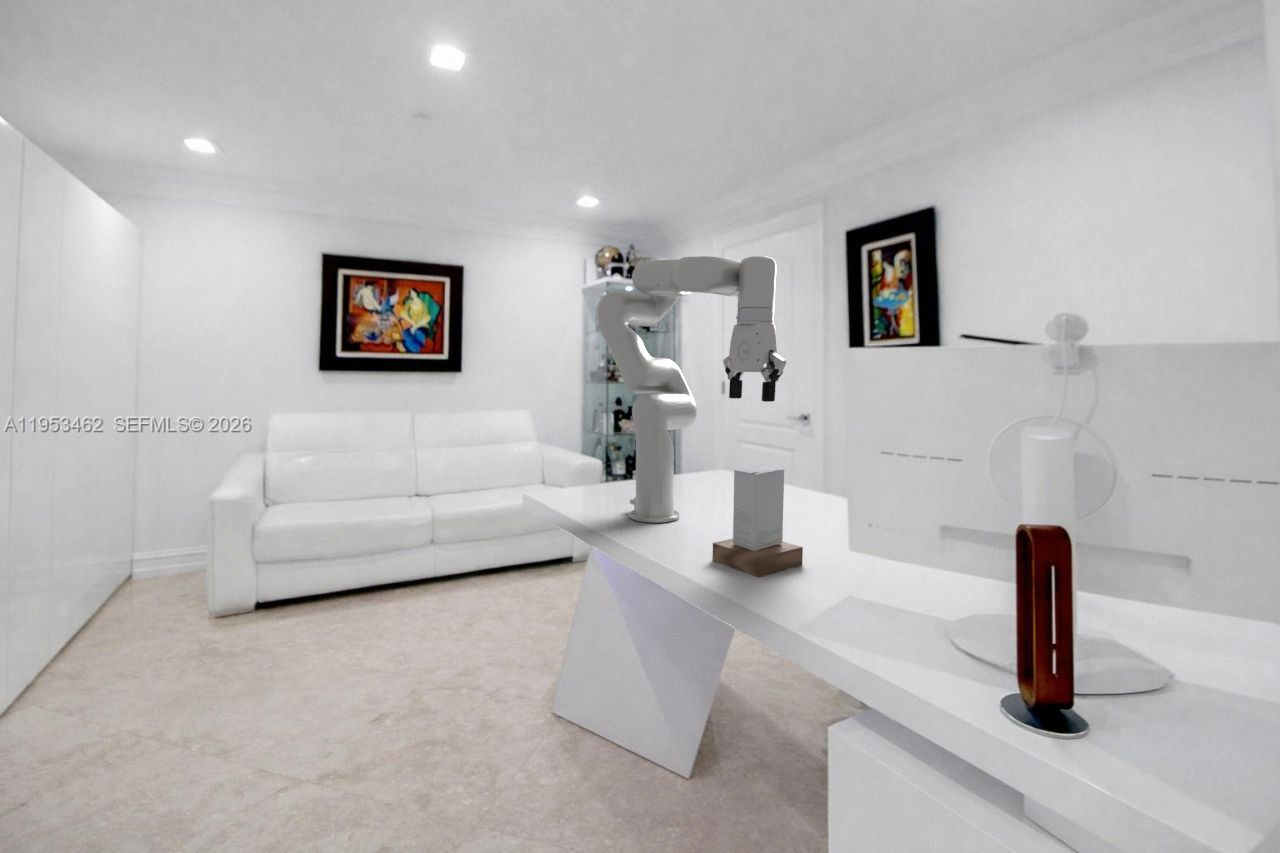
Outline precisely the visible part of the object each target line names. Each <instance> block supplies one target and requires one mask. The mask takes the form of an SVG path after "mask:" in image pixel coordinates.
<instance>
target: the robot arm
mask: <svg viewBox="0 0 1280 853" xmlns="http://www.w3.org/2000/svg"><path fill="white" fill-rule="evenodd" d="M776 277H777V262H776V261H775V259H774V258H772V257H769V256H764V255H762V256H761V255H756V256H747V257H745V258H743V259H741V261H736V260H731V259H726V258H722V257H717V256H711V255H710V256H699V255H698V256H683V257H682V258H679V259H678V258H677V259H651V260H645V261H642V262H640V263H638V264H637V265H636V266H635V268H634V269H633V270H632V273H631V280H632V284H633V286H634V288H635V289H636V290H637V291H638V292H633V291H625V290H624V291H623V290H619V291H618V290H615V291H611V292H608V293H606V294H604V296H602V298H601V299H600V300H599V302H598V303H599V304H598V305H597V306H598V307H597V312H596V313H597V316H596V317H597V324H598V328H599V332H600V333H601V336H602V337H603V339H604V341H605V343H606V345H607V347H608V348H609V350H610V351H611V354H612V357H613V359H614V361H615V364H616V365H617V368H618V370H619V373H620V375H621V377H622V379H623V383H624V385H625V386H626V388H627V389H628V391H629V392H631V393H633V394H636V395H637V394H638V395H639V396H638V397H637V398H636V399H635V400H634V402H633V405H632V409H631V415H632V421H633V427H634V433H635V497H634V498H631V499H630V500H629V503H630V504H631V505H633V507H634V509H633V510H631V511H630V512H629V518H630V519H631V520H633V521H637V522H641V523H642V522H643V523H649V524H650V523H652V524H654V523H655V524H656V523H657V524H660V523H661V524H662V523H668V522H669V523H670V522H674V521H677V520H678V519H679V518H680V513H679V512H678V511H677V510H675V509H674V483H675V482H674V478H675V477H674V476H675V475H674V474H675V468H674V467H675V465H674V463H675V462H674V461H675V459H674V458H675V455H674V454H675V451H674V450H675V449H674V443H673V441H672V438H671V436H670V434H669V432H668V431H671V430H681V429H682V430H684V429H687V428H689V427H691V426H692V425H693V424H694V423H695V421H696V419H697V410H698V409H697V405H696V402H695V399H694V396H693V394H692V391H691V390H690V388H689V386H688V383H687V382H686V379H685V377H684V375H683V373H682V370H681V369H680V367H679V366H678V365H677V364H676V362H674V361H673V360H671V359H669V358H666V357H653V356H652V355H650V354H649V353H648V351H647V349H646V347H645V344H644V342H643V340H642V339H641V337H640V336H639V334H637V333H636V332H635V331H634V330H633V329H632V328H631V327H630V326H637V327H638V326H639V327H651V326H652V327H653V326H655V325H656V324H658V323H659V322H660V321H661V320H662V319H663V318H664V317H665V316H666V315H667V314H668V313H669V311H670V310H671V309H672V308H673V306H674V305H675V304H676V303H677V302H678V301H679V300H680V299H681V297H685V296H688V295H690V294H691V293H704V294H713V295H719V296H725V297H732V298H733V297H734V298H737V311H736V312H737V314H735V315H736V316H735V319H736V324H734V326H733V329H732V333H731V338H730V343H729V344H730V346H729V350H728V351H729V353H728V356H727V357H725V358H724V359H723V360H722V363H723V365H724V366H723V367H724V368H725V370H724V371H725V374H726V375H727V379H728V380H729V387H728V388H729V390H728V394H729V395H728V397H729V398H728V399H741V398H743V397H742V395H743V379H742V377H743V375H744V373H761V376H762V378H763V379H764V381H762V386H761V389H762V390H761V401H762V402H766V403H767V402H769V403H770V402H775V400H776V384H777V383H778V382H779V380H780V379H779V378H780V377H782V375H783V373H784V370H785V367H786V365H787V360H786V359H784V358H783V357H782V356H780V355H779V354H777V353H778V352H777V350H778V345H777V342H778V341H777V331H776V324H774V317H775V315H774V314H775V301H776V300H775V299H776V279H777V278H776Z"/></svg>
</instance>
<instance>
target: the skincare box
mask: <svg viewBox="0 0 1280 853" xmlns="http://www.w3.org/2000/svg"><path fill="white" fill-rule="evenodd" d="M733 471H734V472H733V516H732V517H733V518H732V520H733V521H732V522H733V523H732V524H733V525H732V539H733V544H734V545H737V546H740V547H743V548H746V549H749V550H752V551H757V550H760V549H764V548H767V547H771V546H774V545H778V544H782V541H783V536H784V535H783V532H784V531H783V530H784V528H783V527H784V498H785V497H784V495H785V494H784V493H785V492H784V491H785V469H783V468H778V467H772V466H768V465H765V464H764V465H763V464H761V465H756V466H752V467H751V466H750V467H746V468H741V469H740V468H739V469H734V470H733Z"/></svg>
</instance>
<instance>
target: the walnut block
mask: <svg viewBox="0 0 1280 853" xmlns="http://www.w3.org/2000/svg"><path fill="white" fill-rule="evenodd" d="M803 548H804V547H803V546H801V545H796V544H794V543H790V542H786V541H783V540H782V544H778V545H774V546H771V547H767V548H764V549H760V550H757V551H752V550H749V549H746V548H743V547H740V546H737V545H734V544H733V538H730V539H725V540H720V541H716V542H712V562H716V563H718V564H721V565H724V566H726V567H729V568H732V569H736V570H737V571H740V572H743V573H746V574H749V575H752V576H755V577H758V578H761V577H765V576H768V575H772V574H775V573H779V572H783V571H785V570H790V569H793V568H797V567H801V566H803V556H804V555H803V554H804V550H803Z"/></svg>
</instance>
